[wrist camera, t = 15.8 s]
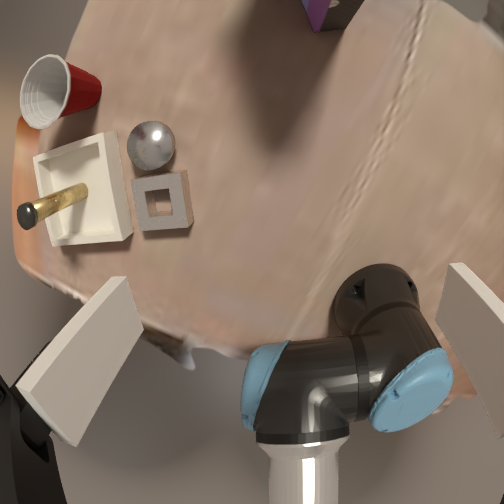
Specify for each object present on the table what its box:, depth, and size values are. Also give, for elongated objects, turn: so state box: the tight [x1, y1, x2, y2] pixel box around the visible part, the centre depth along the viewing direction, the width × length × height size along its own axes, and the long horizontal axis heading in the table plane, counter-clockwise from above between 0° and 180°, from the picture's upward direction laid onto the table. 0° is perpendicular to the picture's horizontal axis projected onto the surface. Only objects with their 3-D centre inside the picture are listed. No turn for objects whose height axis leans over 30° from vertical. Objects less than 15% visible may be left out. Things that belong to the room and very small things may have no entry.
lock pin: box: [17, 183, 88, 230], centre depth 36 cm, size 4×4×14 cm
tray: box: [33, 131, 134, 246], centre depth 41 cm, size 17×17×4 cm
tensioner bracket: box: [127, 121, 194, 231], centre depth 39 cm, size 16×8×4 cm, turn 5°
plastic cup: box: [20, 54, 102, 129], centre depth 31 cm, size 11×11×12 cm
